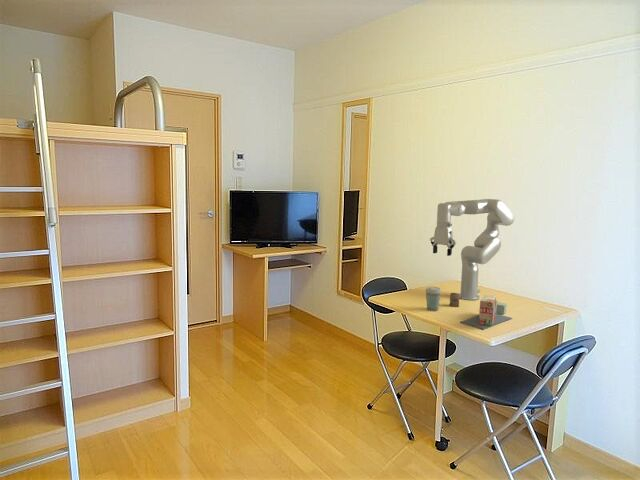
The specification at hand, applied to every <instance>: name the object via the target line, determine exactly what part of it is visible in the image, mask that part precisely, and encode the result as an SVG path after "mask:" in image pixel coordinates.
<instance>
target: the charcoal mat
mask: <svg viewBox="0 0 640 480" xmlns="http://www.w3.org/2000/svg"><path fill="white" fill-rule="evenodd" d="M512 319H513V317H510V316H507V315H503V314H498V313H497V314H496V317H495V319H494V322H493V324H492V326H488V325H481V324H479V315H476V316H472V317H470V318H467V319H463V320H461V321H459V323H460V324H463V325H467V326H470V327H472V328H476V329H480V330H483V331H484V330H486V329H488V328H492V327H494V326H496V325H500V324H502V323H505V322H508V321H510V320H512Z"/></svg>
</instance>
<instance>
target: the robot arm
mask: <svg viewBox="0 0 640 480" xmlns="http://www.w3.org/2000/svg"><path fill="white" fill-rule="evenodd" d="M436 212H437V213H436V214H437V215H436V226H435V228H434V234H433V236H432V237H430V238H429V241H430V244H431V246H432V254H438V245H443V246H446V247H447V251H446V252H447V253H446V256H447V257H449V256H452V253H453V252H452V251H453V249H454V247H455V246H456V244H457V241H456V240H455V239H454V238H453V228H452V226H453V223H451V220H452V219H451V217H452V216H453V217H459V216H460V217H461V216H463V215H480V214H481V215H482V214H487V216H486V222H487V224H486V227H485V229H484V230H483V231H482V232H481V233H480V234H479V235H478V236H477V237H476V238H475V240H474V242H473V245H474V246H473V245H466V246H464V247H463V248H462V249H461V252H460V257H461V276H460V277H461V279H460V293H459V299H463V300H467V301H476V300H479V299H480V295H478V294H479V293H481V290H480V289H478V284H479V265H486V264H487V263H488V262H490V260H492V258H494V257H495V256H496V254H497V253H498V252H499V251H500V249H501V247H502V241H501V239H500V238H499V235H500V229H499V226H506V227H507V226H508V227H509V226H511V225H512V224H514V221H515V215H514V213H513V212H512V210H511V209H510V208H509V207H508V206H507V205H506V204H505V203H504V202H503V201H502V200H500V199H496V198H495V199H492V198H483V199H473V200H472V199H471V200H470V199H469V200H455V201H454V200H453V201H446V202H444V203H443V202H440V203H438V204H437V211H436Z"/></svg>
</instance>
